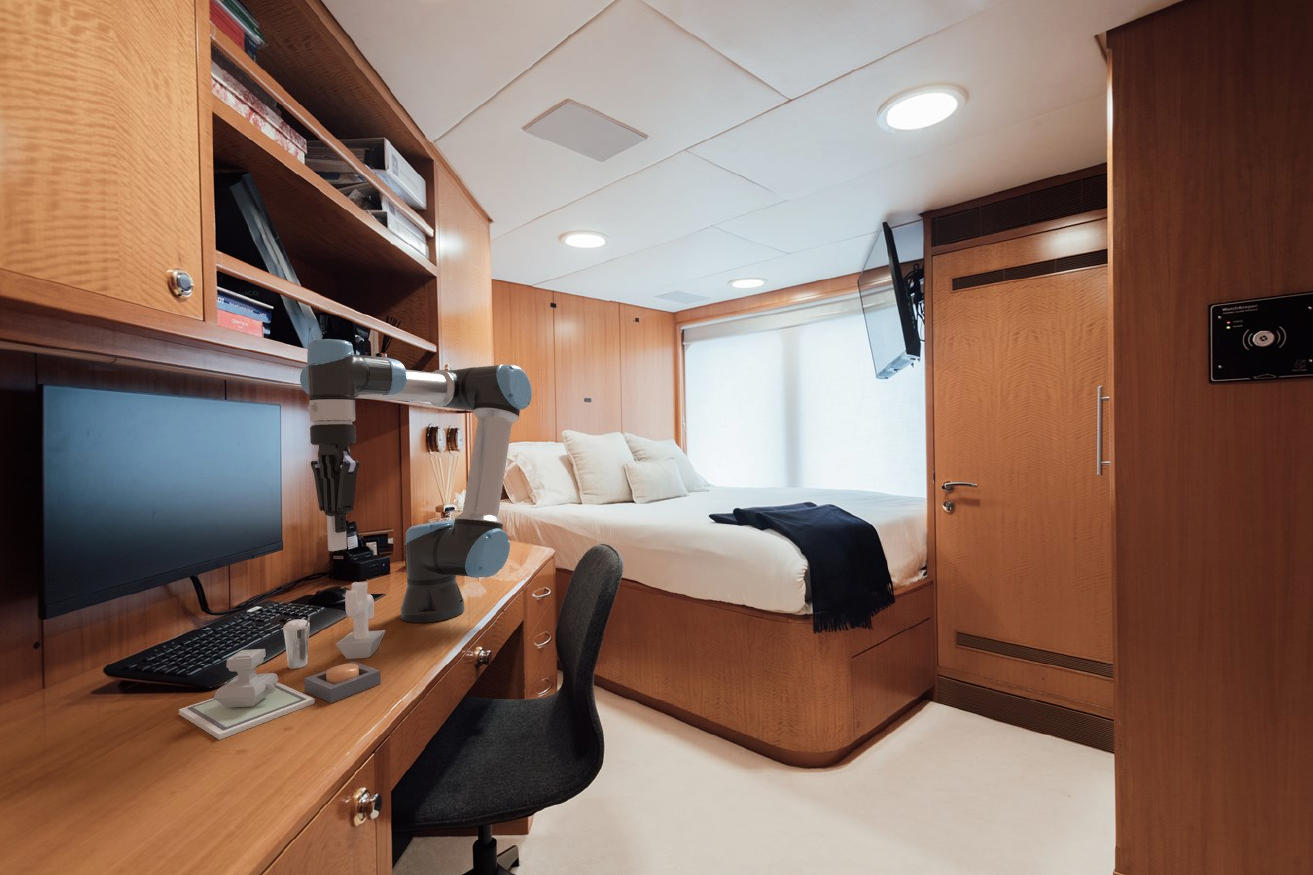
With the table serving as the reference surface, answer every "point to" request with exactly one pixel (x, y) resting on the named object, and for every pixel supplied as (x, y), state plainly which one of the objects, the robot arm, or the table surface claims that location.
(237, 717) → the board
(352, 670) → the button
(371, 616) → the figurine
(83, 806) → the table surface
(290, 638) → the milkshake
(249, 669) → the stamp
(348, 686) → the button housing
